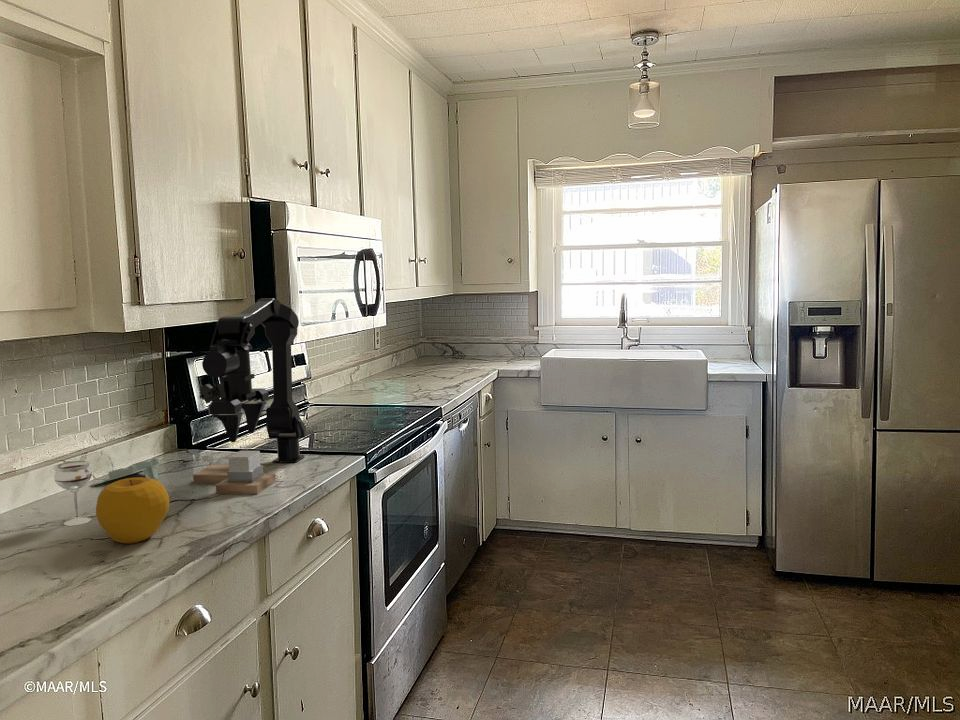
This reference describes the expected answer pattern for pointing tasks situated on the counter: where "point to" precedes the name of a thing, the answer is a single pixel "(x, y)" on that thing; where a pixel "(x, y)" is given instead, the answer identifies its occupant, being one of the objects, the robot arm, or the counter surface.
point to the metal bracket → (135, 470)
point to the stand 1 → (212, 474)
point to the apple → (132, 509)
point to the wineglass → (73, 483)
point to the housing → (245, 467)
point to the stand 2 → (246, 485)
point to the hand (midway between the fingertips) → (242, 437)
